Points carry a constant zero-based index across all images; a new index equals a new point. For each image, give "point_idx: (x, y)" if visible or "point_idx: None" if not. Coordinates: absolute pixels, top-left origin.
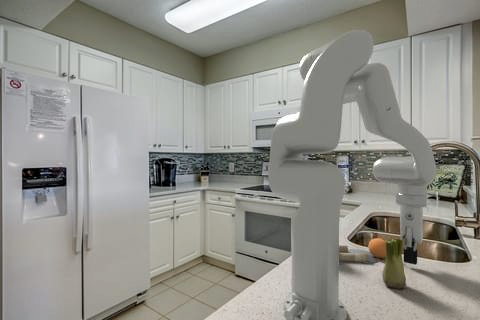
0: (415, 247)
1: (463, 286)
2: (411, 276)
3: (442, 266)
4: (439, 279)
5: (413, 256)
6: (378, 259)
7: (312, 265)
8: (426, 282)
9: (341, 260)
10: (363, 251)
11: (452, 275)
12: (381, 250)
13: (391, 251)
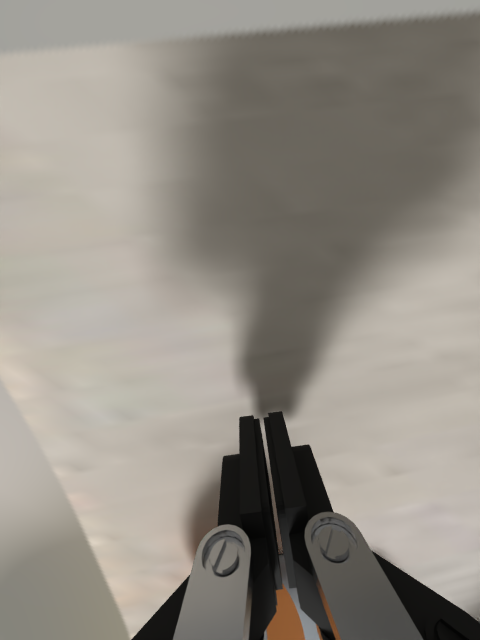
0: (380, 573)
1: (346, 106)
2: (404, 386)
3: (55, 281)
4: (332, 255)
5: (298, 473)
6: (284, 562)
7: None
8: (441, 306)
9: None
10: None
11: (184, 198)
12: (299, 634)
13: None
